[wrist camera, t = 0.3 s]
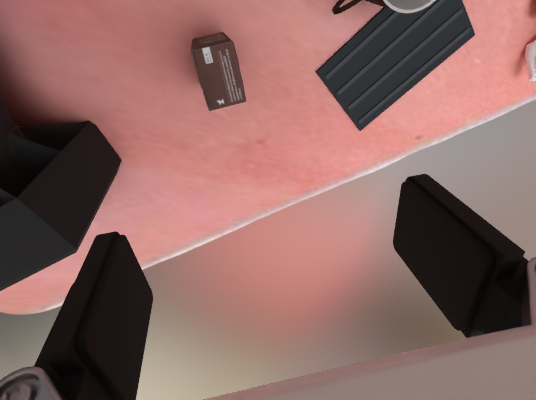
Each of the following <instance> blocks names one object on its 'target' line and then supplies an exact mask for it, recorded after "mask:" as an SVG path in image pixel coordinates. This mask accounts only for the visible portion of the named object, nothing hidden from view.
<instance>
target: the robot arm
mask: <svg viewBox="0 0 536 400" xmlns="http://www.w3.org/2000/svg"><path fill="white" fill-rule="evenodd" d="M393 245H394V248H395V250H396V252H397V253H398V254H399V256H400V257H401V258H402V260H403V261H404V262H405V264H406V265H407V266H408V268H409V269H410V270H411V272H412V273H413V274H414V276H415V277H416V278H417V280H418V281H419V282H420V284H421V285H422V286H423V288H424V289H425V290H426V292H427V293H428V294H429V295H430V297H431V298H432V299H433V301H434V302H435V303H436V305H437V306H438V307H439V309H440V310H441V311H442V313H443V314H444V315H445V316H446V318H447V319H448V321H449V322H450V323H451V325H452V326H453V327H454V328H455V329H456V330H459V331H460V330H461V331H462V333H463V334H464V335H465V337H466V338H465V339H461V340H456V341H452V342H448V343H443V344H439V345H435V346H430V347H426V348H422V349H417V350H413V351H408V352H404V353H399V354H395V355H391V356H386V357H382V358H378V359H374V360H369V361H365V362H361V363H356V364H352V365H348V366H344V367H339V368H335V369H331V370H326V371H322V372H318V373H314V374H310V375H305V376H301V377H297V378H293V379H288V380H284V381H280V382H276V383H271V384H267V385H263V386H259V387H255V388H250V389H246V390H242V391H238V392H234V393H230V394H225V395H221V396H217V397H213V398H209V399H205V400H536V257H535V258H532V259H531V260H530V261H528V260H527V259H525V258H524V257H523V255H524V253H525V251H524V250H522V249H521V248H520V247H519V246H517V245H516V244H515V243H513V242H512V241H511V240H510V239H508V238H507V237H506V236H504V235H503V234H502V233H501V232H500V231H498V230H497V229H496V228H494V227H493V226H492V225H491V224H489V223H488V222H487V221H486V220H484V219H483V218H482V217H481V216H479V215H478V214H477V213H475V212H474V211H473V210H472V209H470V208H469V207H468V206H467V205H465V204H464V203H463V202H462V201H460V200H459V199H458V198H456V197H455V196H454V195H453V194H451V193H450V192H449V191H448V190H446V189H445V188H444V187H442V186H441V185H440V184H439V183H437V182H436V181H435V180H434V179H432V178H431V177H430V176H429V175H427V174H421V175H416V176H410V177H408V178H407V179H406V181H405V182H403V183H402V185H401V191H400V198H399V204H398V211H397V218H396V224H395V231H394V238H393ZM152 302H153V295H152V291H151V288H150V286H149V284H148V282H147V280H146V278H145V276H144V273H143V271H142V269H141V267H140V265H139V263H138V261H137V259H136V257H135V254H134V252H133V250H132V248H131V246H130V244H129V242H128V240H127V238H126V236H125V235H120V234H119V233H118V232H111V233H106V234H100V235H97V236H96V237H95V239H94V241H93V244H92V246H91V248H90V250H89V252H88V254H87V257H86V259H85V261H84V263H83V265H82V267H81V270H80V272H79V274H78V276H77V278H76V280H75V283H73V285H72V286H71V288H70V290H69V292H68V294H67V296H66V299H65V301H64V303H63V305H62V307H61V310H60V312H59V314H58V316H57V318H56V320H55V322H54V325H53V327H52V329H51V331H50V333H49V335H48V338H47V339H46V342H45V344H44V346H43V348H42V350H41V352H40V355H39V357H38V359H37V361H36V363H35V365H34V366H32V367H25V368H22V369H19V370H17V371H14V372H12V373H11V374H9V375H7V376H6V377H4V378H2V379H1V380H0V400H136V395H137V389H138V383H139V377H140V372H141V366H142V360H143V354H144V349H145V343H146V337H147V331H148V326H149V320H150V314H151V308H152Z"/></svg>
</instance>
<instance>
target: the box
mask: <svg viewBox="0 0 536 400" xmlns="http://www.w3.org/2000/svg"><path fill="white" fill-rule="evenodd" d="M191 53H192V56H193V59H194V63H195V66H196V69H197V73H198V78H199V82H200V85H201V88H202V90H203V93H204V97H205V100H206V104H207V107H208V110H209V111H211V110H215V109H219V108H223V107H226V106H230V105H234V104H239V103H243V102H246V97H245V92H244V86H243V81H242V77H241V73H240V69H239V64H238V59H237V55H236V51H235V47H234V43H233V41H232V40H230V38H228V37H227V36H226V35H225V34H224V33H218V34H214V35H209V36H205V37H200V38H196V39H193V40H192V47H191Z"/></svg>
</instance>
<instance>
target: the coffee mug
mask: <svg viewBox="0 0 536 400" xmlns="http://www.w3.org/2000/svg"><path fill="white" fill-rule="evenodd" d="M344 1H345V0H339V1H338V2H337V3H336V5H335V6H334V7H333V9H332V11H333V13H334V14H339V13H341V12H343V11H345V10H347V9H349V8H351V7H352V6H354V5H355V4H357V3H358V2H360V1H361V0H353V1H351V2H349V3H348V4H346V5H344V6H342V7H340V5H341V4H342V3H343V2H344ZM366 1H369V2H371V3H374V4H377V5H380V6H383V7H385V8H388V9H391V10H394V11H397V12H400V13H414V12H417V11H420V10H423V9H424V8H426V7H428V6H430V5H431V4H432V3H433V2H434V1H436V0H366ZM339 7H340V8H339Z"/></svg>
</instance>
